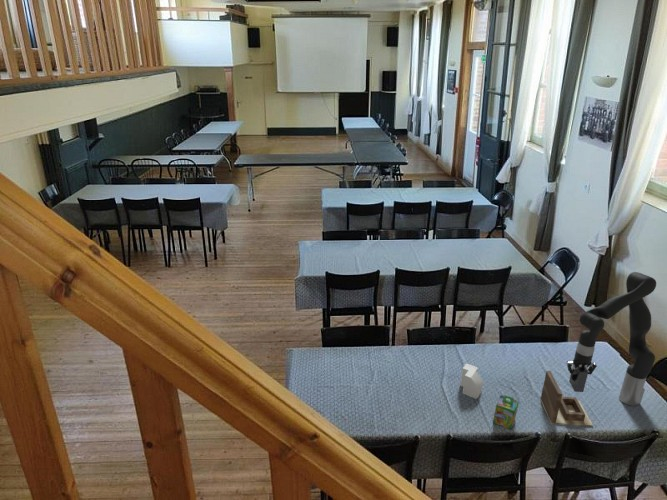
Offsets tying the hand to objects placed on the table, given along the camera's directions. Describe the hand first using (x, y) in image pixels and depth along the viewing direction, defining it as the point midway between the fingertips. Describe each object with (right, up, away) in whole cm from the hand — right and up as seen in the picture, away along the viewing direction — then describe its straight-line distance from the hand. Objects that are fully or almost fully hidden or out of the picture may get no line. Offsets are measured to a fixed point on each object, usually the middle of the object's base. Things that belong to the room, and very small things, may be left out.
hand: (577, 379), depth 242 cm
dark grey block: (0, -4, +2) cm, 4 cm away
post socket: (-3, -19, +8) cm, 21 cm away
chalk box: (-36, -22, +3) cm, 42 cm away
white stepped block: (-47, -12, +25) cm, 54 cm away
